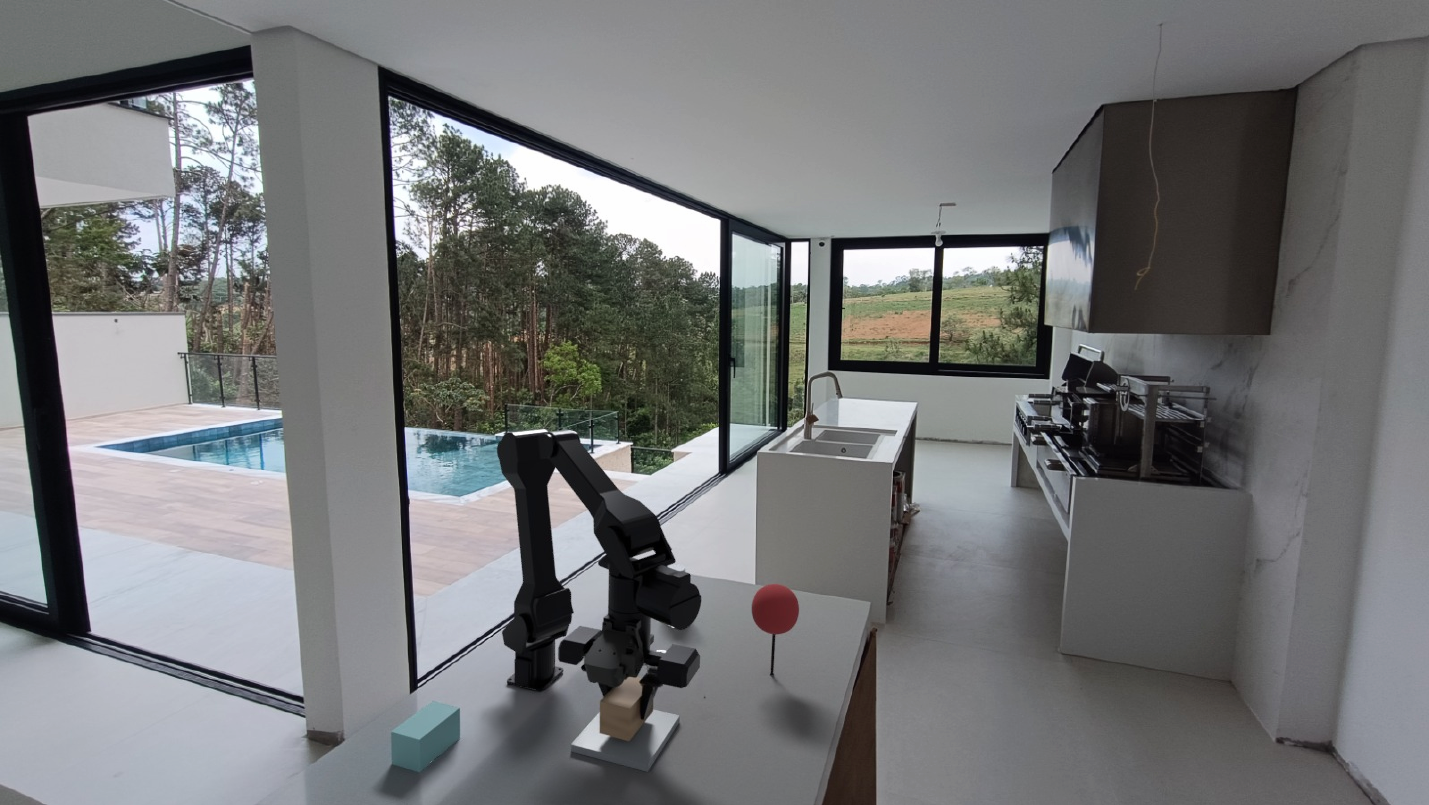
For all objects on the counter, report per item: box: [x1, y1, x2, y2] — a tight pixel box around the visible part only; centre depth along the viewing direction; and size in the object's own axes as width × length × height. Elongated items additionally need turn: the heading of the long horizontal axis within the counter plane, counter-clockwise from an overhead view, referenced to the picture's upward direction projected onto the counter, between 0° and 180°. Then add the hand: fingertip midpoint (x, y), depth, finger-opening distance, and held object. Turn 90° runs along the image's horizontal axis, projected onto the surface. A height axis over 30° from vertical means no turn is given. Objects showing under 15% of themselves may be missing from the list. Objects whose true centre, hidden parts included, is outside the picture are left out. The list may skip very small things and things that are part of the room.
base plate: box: [570, 708, 681, 773], centre depth 86 cm, size 11×11×1 cm
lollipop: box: [751, 583, 800, 676], centre depth 103 cm, size 8×8×15 cm
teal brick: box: [390, 700, 461, 773], centre depth 82 cm, size 7×4×4 cm, turn 162°
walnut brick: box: [599, 676, 654, 741], centre depth 86 cm, size 7×4×4 cm, turn 160°
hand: (627, 714), depth 86 cm, fingers closed on walnut brick, 4 cm apart
